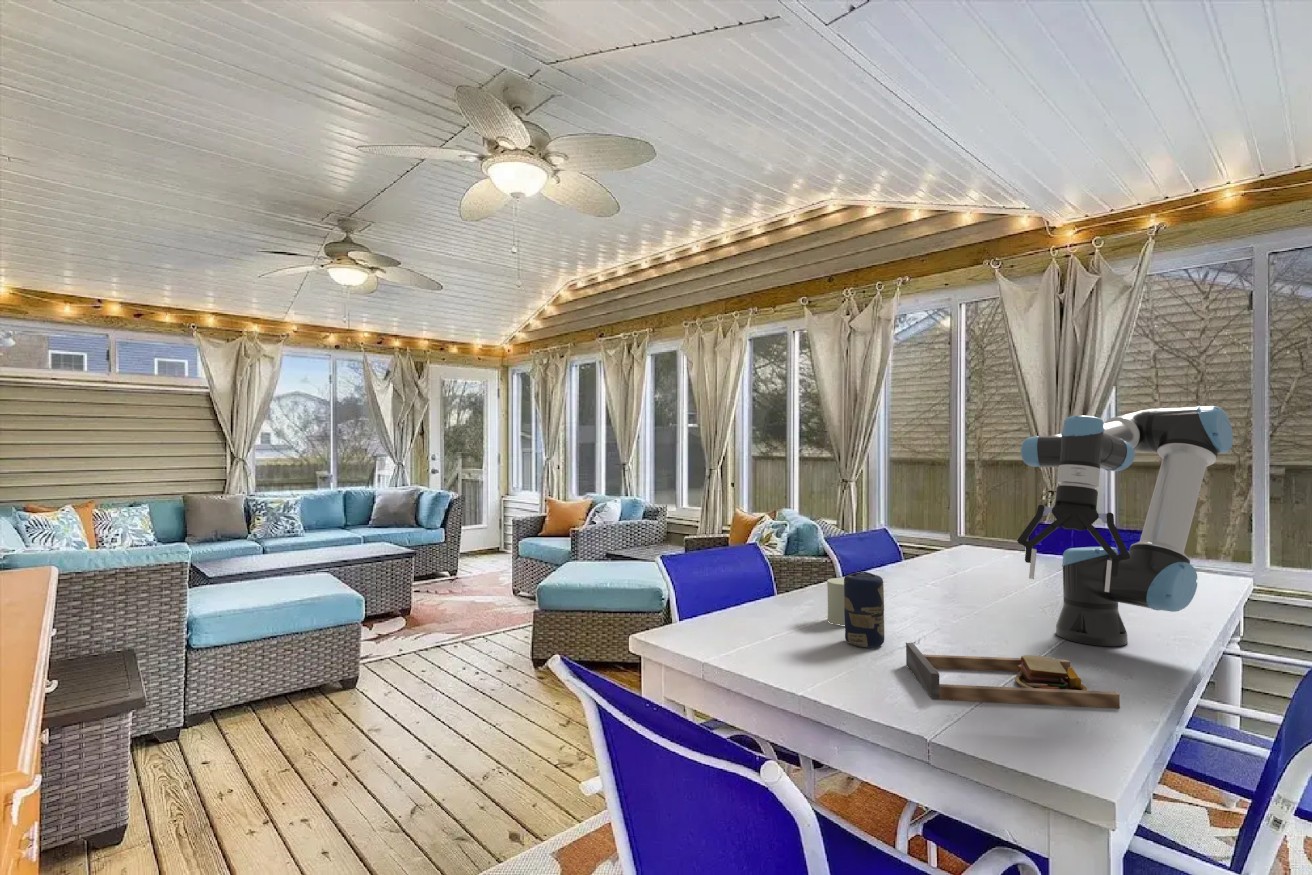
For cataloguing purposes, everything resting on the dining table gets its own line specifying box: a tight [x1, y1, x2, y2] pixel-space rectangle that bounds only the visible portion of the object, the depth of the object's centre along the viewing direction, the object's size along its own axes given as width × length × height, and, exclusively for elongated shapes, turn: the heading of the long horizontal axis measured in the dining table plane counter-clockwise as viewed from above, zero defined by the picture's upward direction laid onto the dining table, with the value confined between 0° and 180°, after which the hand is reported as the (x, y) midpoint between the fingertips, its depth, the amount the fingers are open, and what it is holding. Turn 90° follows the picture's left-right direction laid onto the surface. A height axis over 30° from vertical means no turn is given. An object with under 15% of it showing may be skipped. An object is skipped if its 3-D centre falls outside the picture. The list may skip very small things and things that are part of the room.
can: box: [826, 577, 845, 625], centre depth 180 cm, size 9×9×12 cm
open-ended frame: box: [905, 642, 1121, 709], centre depth 132 cm, size 34×20×5 cm, turn 82°
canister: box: [843, 571, 885, 648], centre depth 160 cm, size 10×10×18 cm
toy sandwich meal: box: [1014, 654, 1088, 690], centre depth 131 cm, size 12×14×5 cm
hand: (1067, 585), depth 137 cm, fingers open, 13 cm apart
